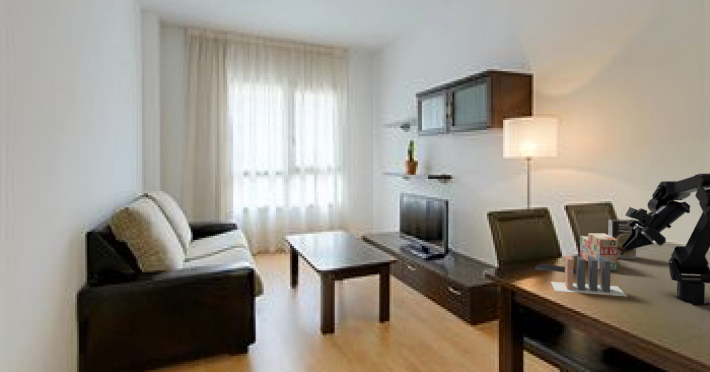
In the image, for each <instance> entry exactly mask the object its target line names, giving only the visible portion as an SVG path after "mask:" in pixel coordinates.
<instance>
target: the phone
mask: <svg viewBox="0 0 710 372" xmlns="http://www.w3.org/2000/svg"><path fill="white" fill-rule="evenodd" d="M534 268H535V269H534V270H537V271H551V272H559V273H565V266H562V265H555V264H549V263H539V264H538V265H536V266H535V267H534ZM573 275H577V267H573Z"/></svg>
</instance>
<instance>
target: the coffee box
mask: <svg viewBox="0 0 710 372" xmlns="http://www.w3.org/2000/svg"><path fill="white" fill-rule="evenodd" d="M630 220H631V219H617V218H616V219H611V218H610V219H608V228H607V229H608V230H607V231H608V232H607V235H609V236H612V237H614V238H615V239H617V240H618V247H617V248H618V249H617V250H618V251H617V259H621V260H622V259H625V260H636V258H637V248H635V249H631V250H625V249H624V248H623V247H622V245H623V243H624V242H625V240H626V239H627V237H628V236H629V234H630V226H629V225H628V224H627V222H629V221H630Z"/></svg>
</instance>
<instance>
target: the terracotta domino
mask: <svg viewBox="0 0 710 372" xmlns="http://www.w3.org/2000/svg"><path fill="white" fill-rule="evenodd" d="M564 267H565V272H564V283H565V286H566V288H567V289H569V290H573V283H574V274H573V268H574V258H573V257H572V256H571V255H564Z"/></svg>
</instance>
